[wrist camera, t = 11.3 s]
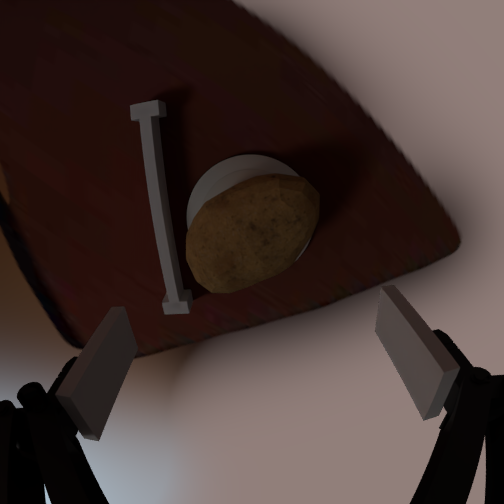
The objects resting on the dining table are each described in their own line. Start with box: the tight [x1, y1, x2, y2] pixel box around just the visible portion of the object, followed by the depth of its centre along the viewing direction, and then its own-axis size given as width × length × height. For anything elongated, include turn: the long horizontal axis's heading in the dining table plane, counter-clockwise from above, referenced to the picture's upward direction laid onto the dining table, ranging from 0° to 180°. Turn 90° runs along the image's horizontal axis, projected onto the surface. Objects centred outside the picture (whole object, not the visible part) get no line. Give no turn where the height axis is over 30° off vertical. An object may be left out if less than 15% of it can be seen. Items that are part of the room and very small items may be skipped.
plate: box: [187, 154, 311, 261], centre depth 34 cm, size 14×14×1 cm
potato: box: [186, 173, 320, 293], centre depth 29 cm, size 10×14×8 cm
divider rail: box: [130, 100, 193, 314], centre depth 32 cm, size 24×3×3 cm, turn 5°
